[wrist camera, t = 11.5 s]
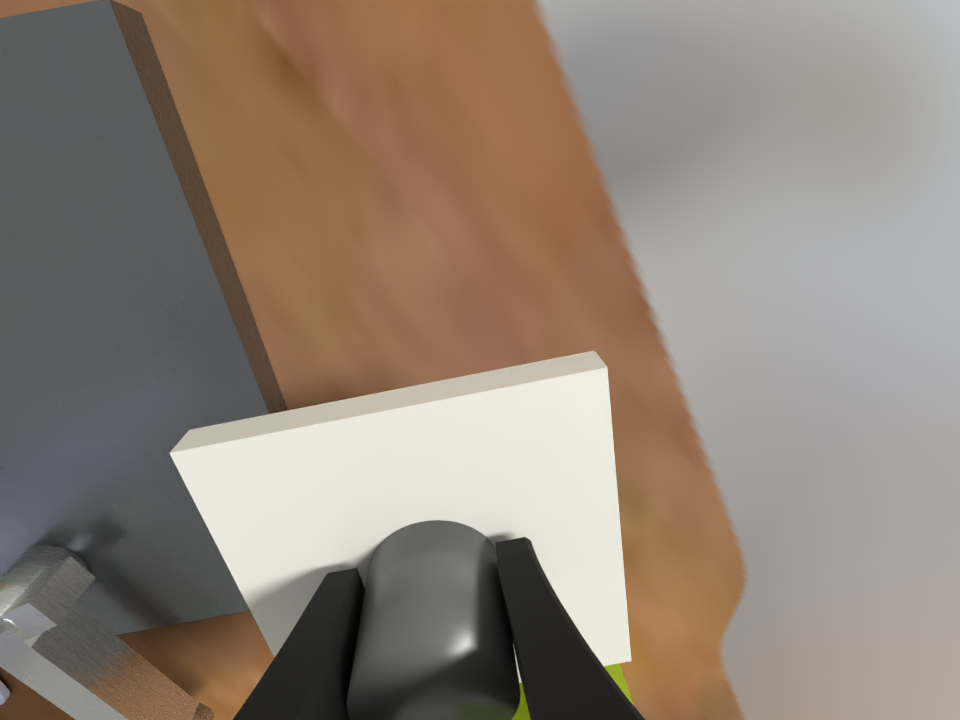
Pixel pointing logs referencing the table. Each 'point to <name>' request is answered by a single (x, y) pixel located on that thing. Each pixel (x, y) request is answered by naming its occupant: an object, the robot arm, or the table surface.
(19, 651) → the t key
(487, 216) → the table surface
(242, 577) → the cover
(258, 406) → the panel
